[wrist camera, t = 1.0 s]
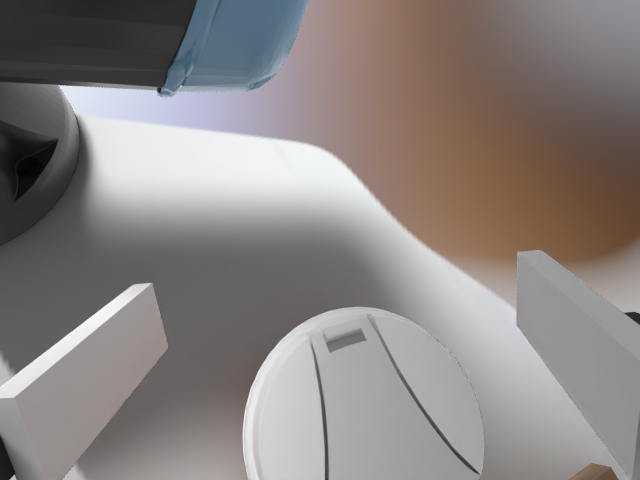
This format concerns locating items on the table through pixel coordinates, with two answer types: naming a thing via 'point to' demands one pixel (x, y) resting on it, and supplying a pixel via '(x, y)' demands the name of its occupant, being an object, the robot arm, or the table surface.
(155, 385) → the table surface
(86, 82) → the robot arm
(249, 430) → the paper cup
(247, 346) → the table surface
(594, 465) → the stand
